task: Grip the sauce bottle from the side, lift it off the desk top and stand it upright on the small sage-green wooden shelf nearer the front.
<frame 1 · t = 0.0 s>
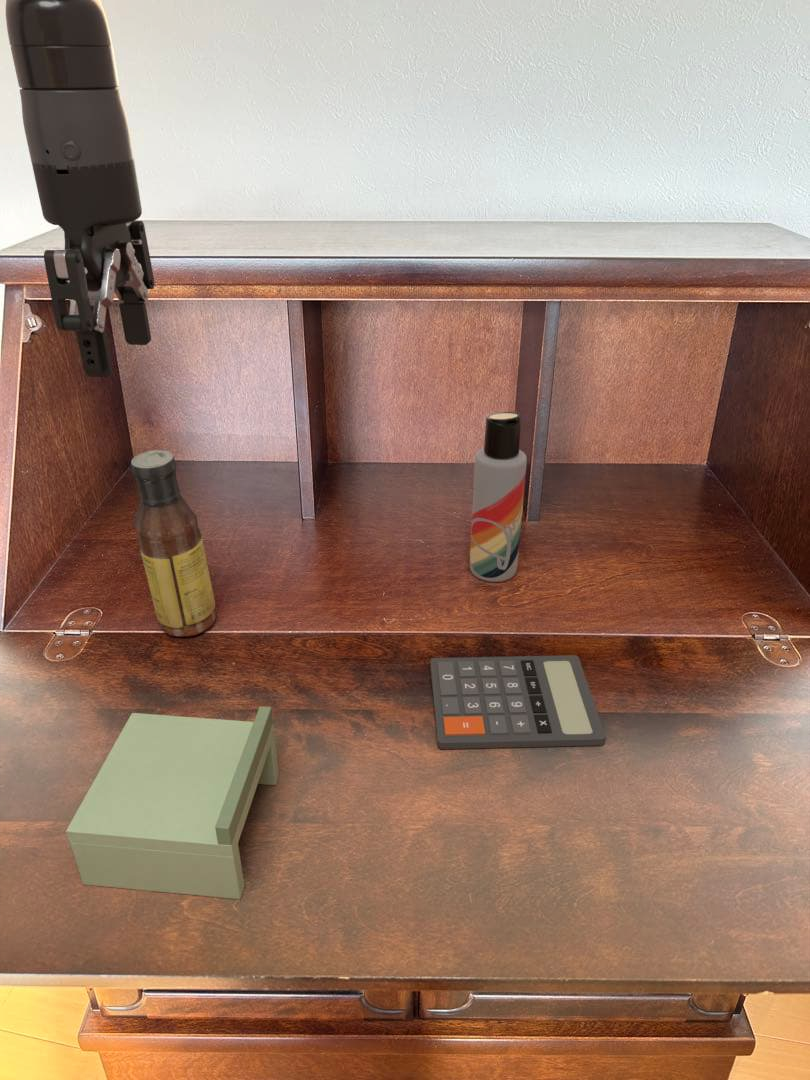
hand: (120, 358, 71), 30 cm above the table, tool pointing down, fingers open, 8 cm apart
shelf: (188, 826, 64), on the table
lotion bottle: (492, 571, 97), on the table
calculator: (512, 703, 77), on the table
sauce bottle: (186, 624, 87), on the table
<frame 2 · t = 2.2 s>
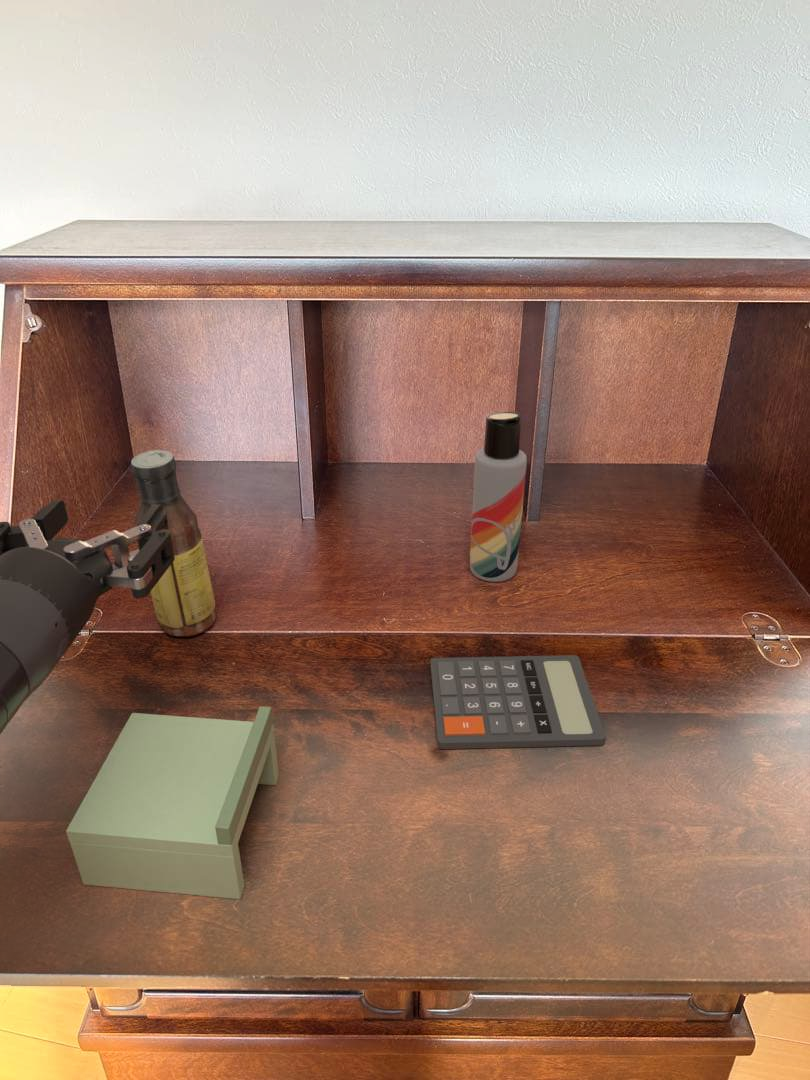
hand: (110, 511, 68), 20 cm above the table, tool horizontal, fingers open, 8 cm apart
nothing on the table moved.
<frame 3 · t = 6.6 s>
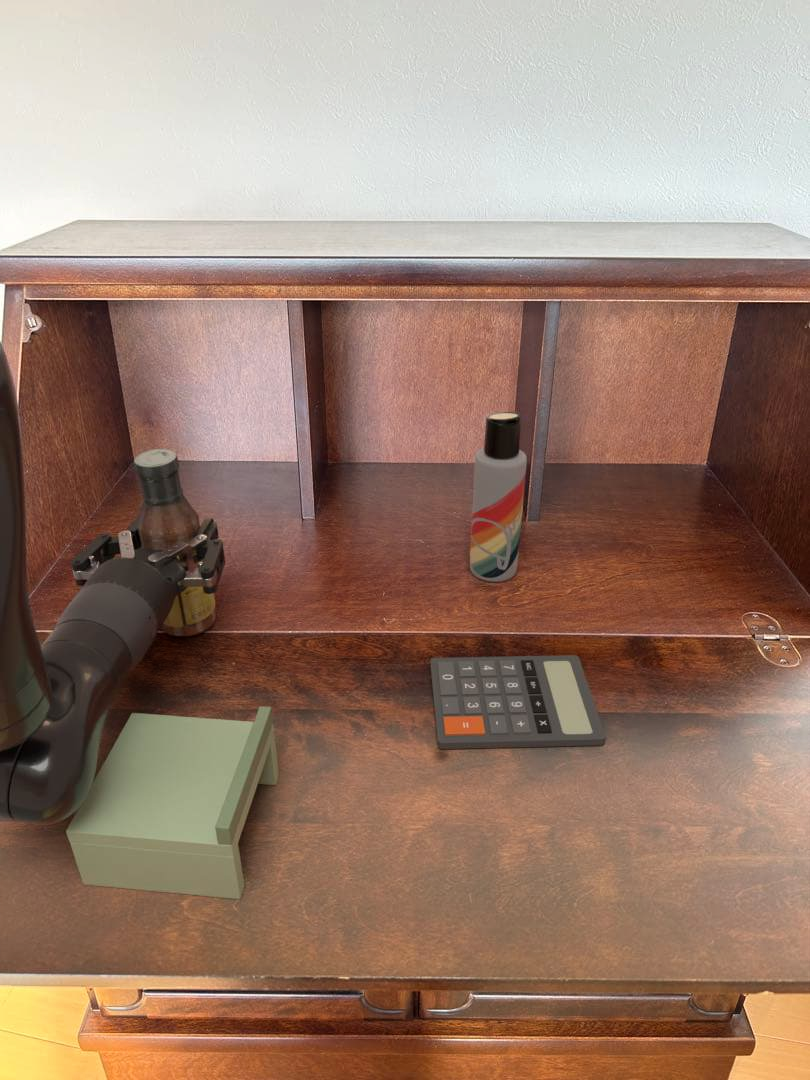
hand: (178, 524, 84), 11 cm above the table, tool horizontal, fingers closed on sauce bottle, 6 cm apart
sauce bottle: (186, 624, 87), on the table, touching gripper
everything else where it was.
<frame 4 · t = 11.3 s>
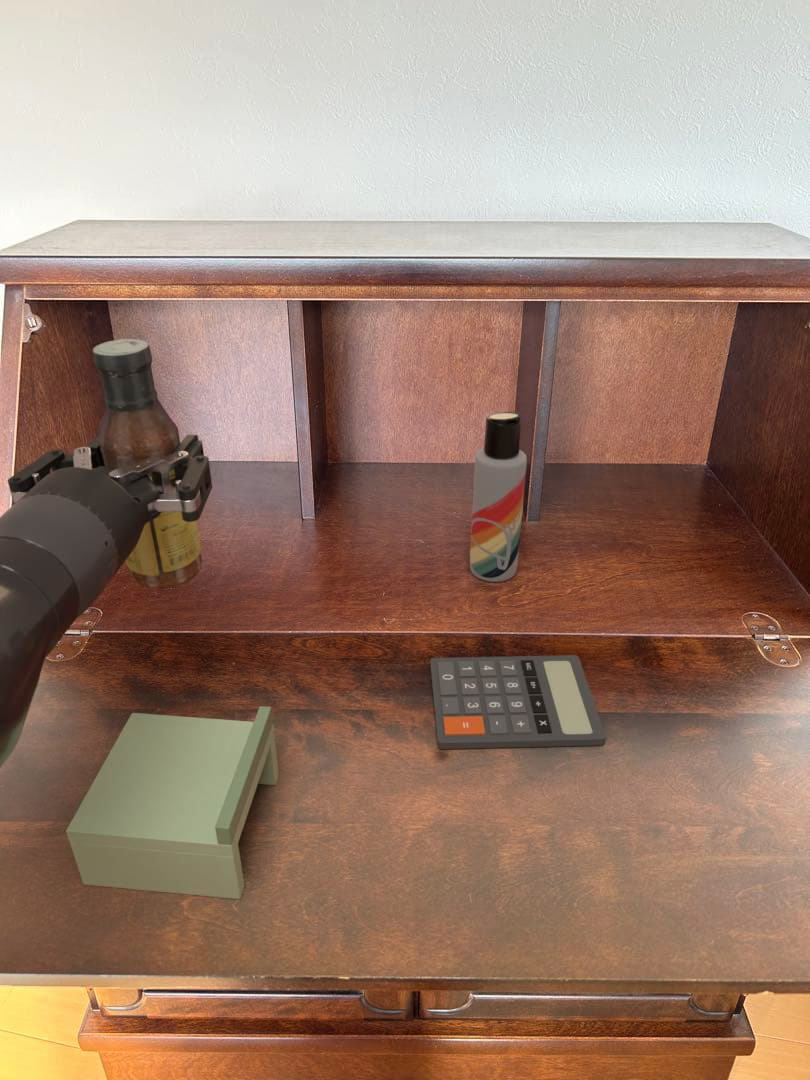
hand: (154, 443, 66), 26 cm above the table, tool horizontal, fingers closed on sauce bottle, 6 cm apart
sauce bottle: (164, 575, 69), point 15 cm above the table, touching gripper
everything else where it was.
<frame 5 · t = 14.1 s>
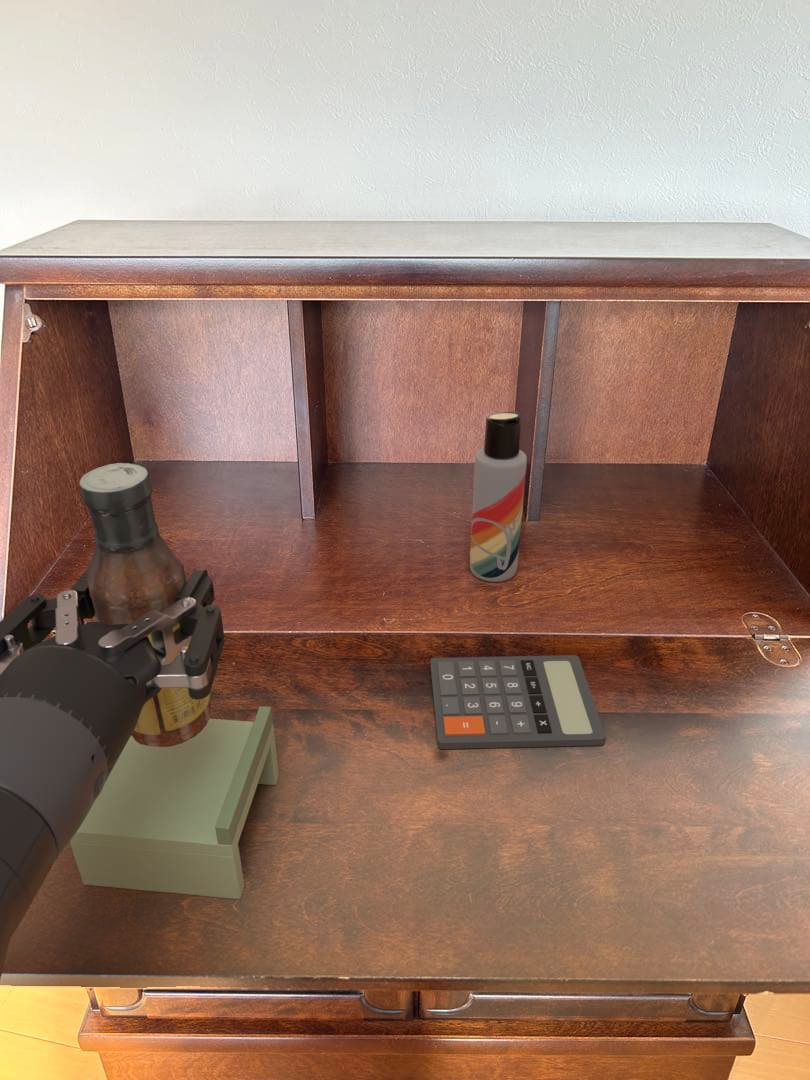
hand: (154, 577, 55), 22 cm above the table, tool horizontal, fingers closed on sauce bottle, 6 cm apart
sauce bottle: (167, 724, 58), point 11 cm above the table, touching gripper
everything else where it was.
when the fingers open (17 cm above the table, at t = 16.1 s): sauce bottle stays where it is, resting on shelf.
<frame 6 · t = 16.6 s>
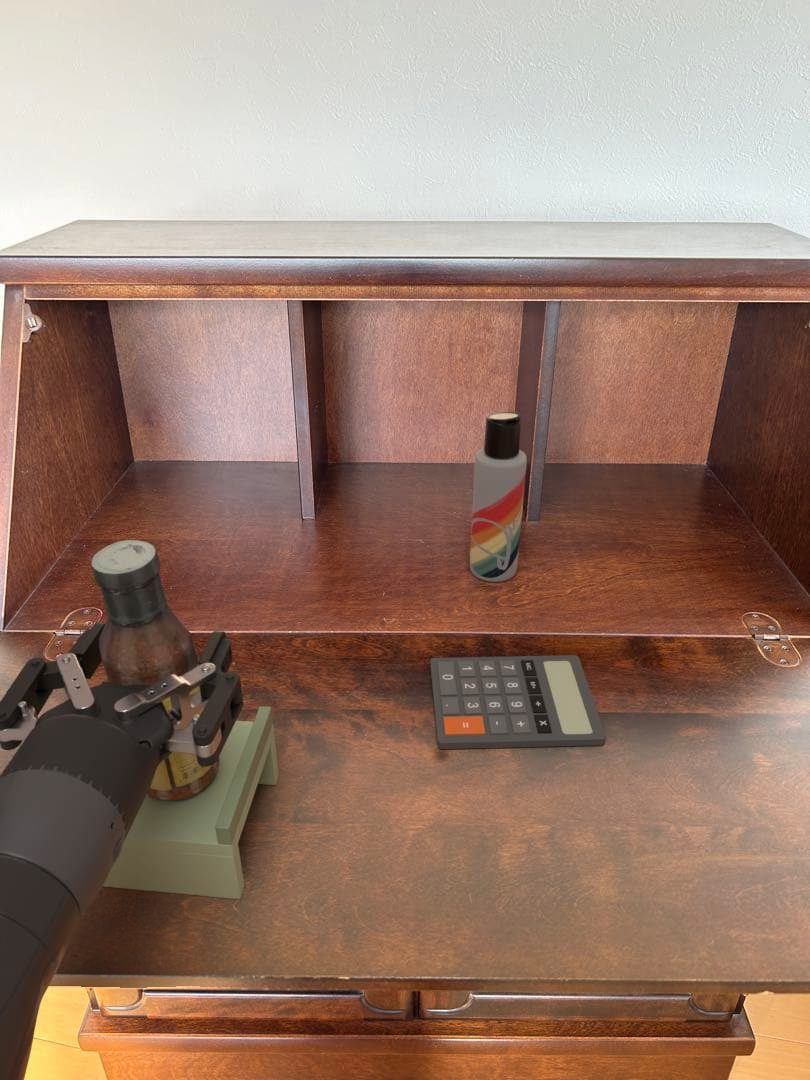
hand: (162, 636, 57), 18 cm above the table, tool horizontal, fingers open, 8 cm apart
sauce bottle: (177, 776, 61), point 6 cm above the table, touching shelf
everything else where it was.
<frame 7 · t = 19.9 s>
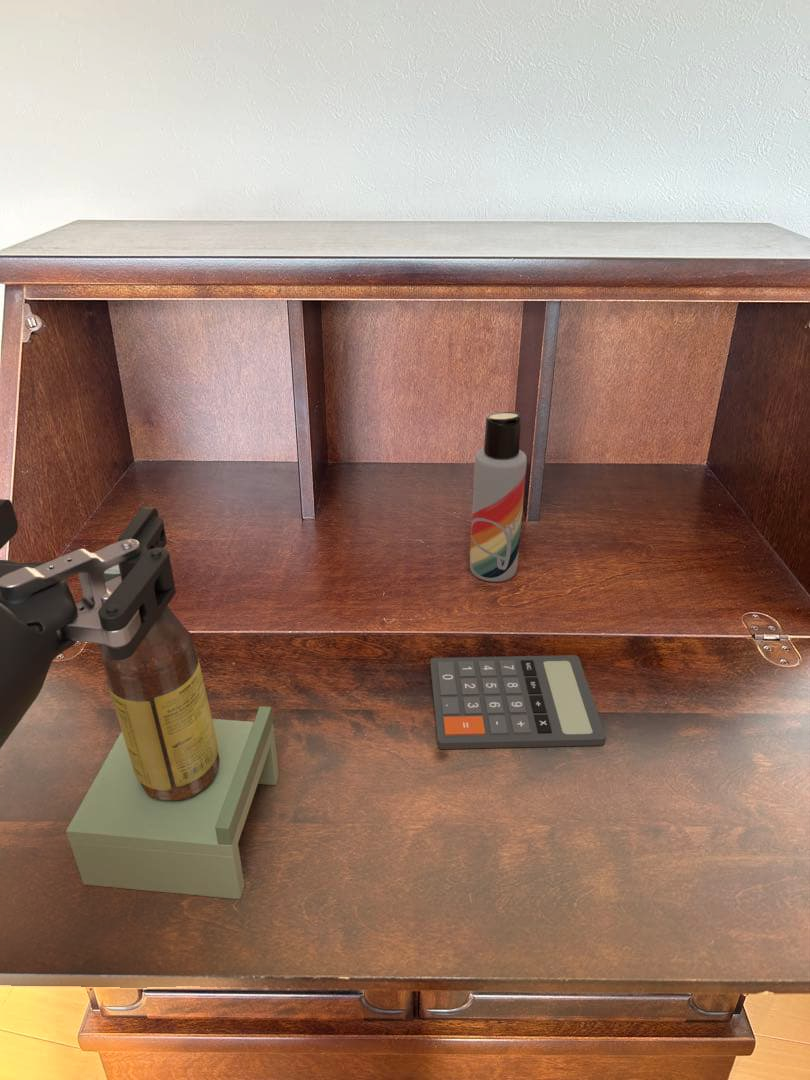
hand: (80, 517, 46), 30 cm above the table, tool horizontal, fingers open, 8 cm apart
nothing on the table moved.
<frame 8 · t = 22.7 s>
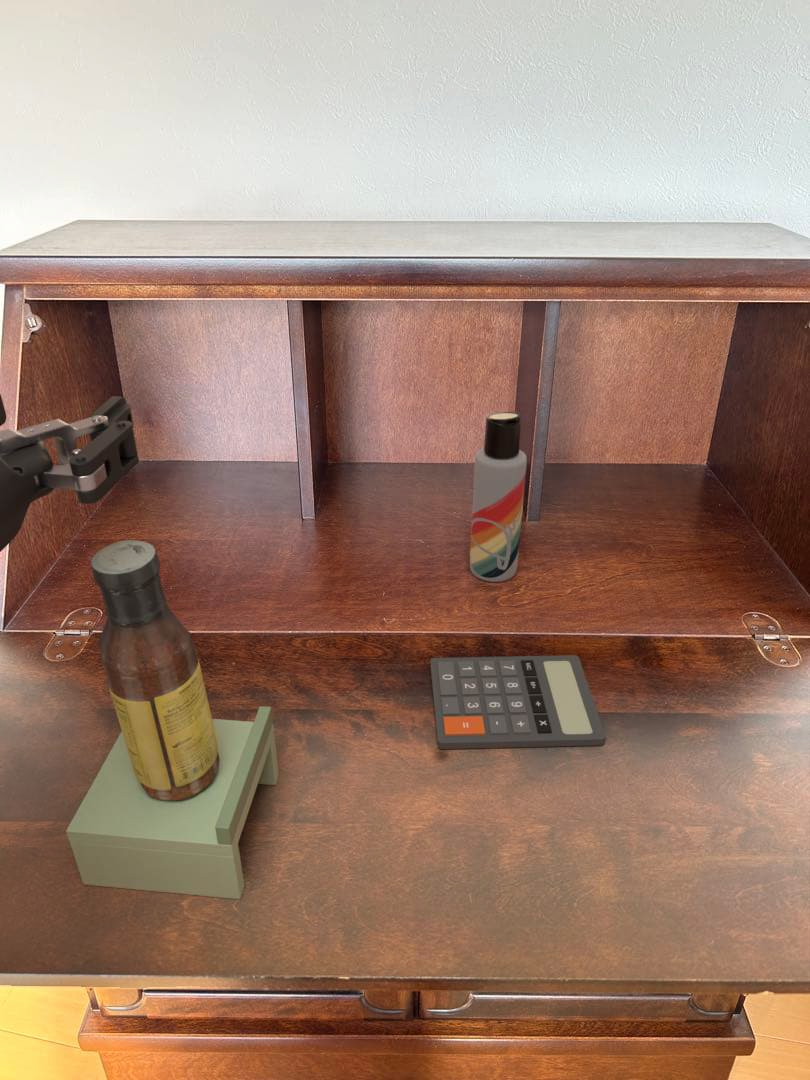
hand: (60, 407, 53), 33 cm above the table, tool horizontal, fingers open, 8 cm apart
nothing on the table moved.
at the end: sauce bottle inside the target area on the shelf (0.1 cm from its centre), point 5.8 cm above the shelf's base; sauce bottle tilted 0°; the gripper is holding nothing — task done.
